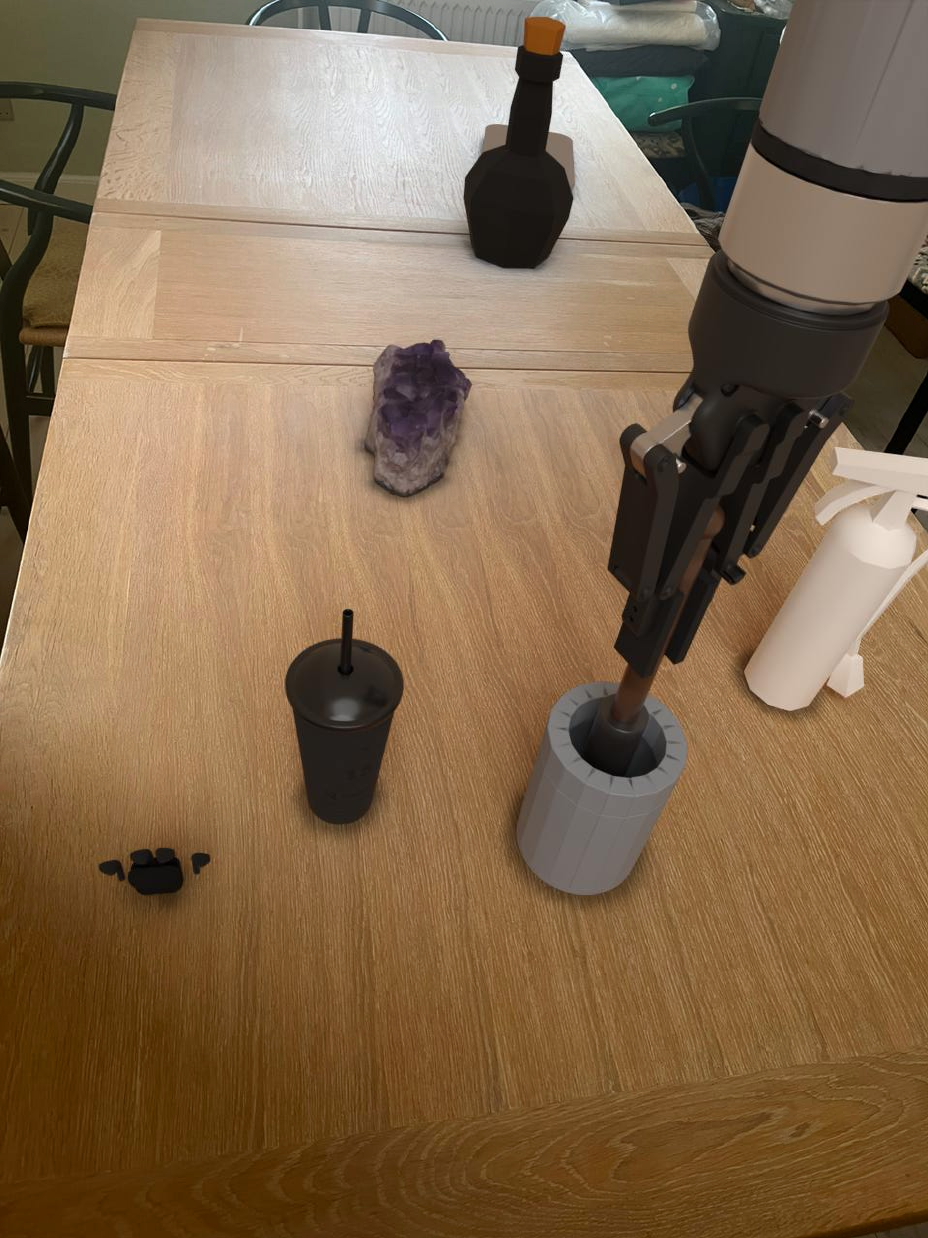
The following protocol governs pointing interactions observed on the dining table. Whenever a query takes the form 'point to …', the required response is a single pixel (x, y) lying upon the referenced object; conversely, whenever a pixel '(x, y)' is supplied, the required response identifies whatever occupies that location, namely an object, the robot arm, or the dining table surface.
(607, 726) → the brush
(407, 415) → the geode
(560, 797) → the gray cylindrical holder
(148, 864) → the wireless earbuds
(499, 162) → the bottle
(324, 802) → the drinking cup
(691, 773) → the dining table surface
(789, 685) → the fire extinguisher
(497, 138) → the tablet
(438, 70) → the dining table surface
